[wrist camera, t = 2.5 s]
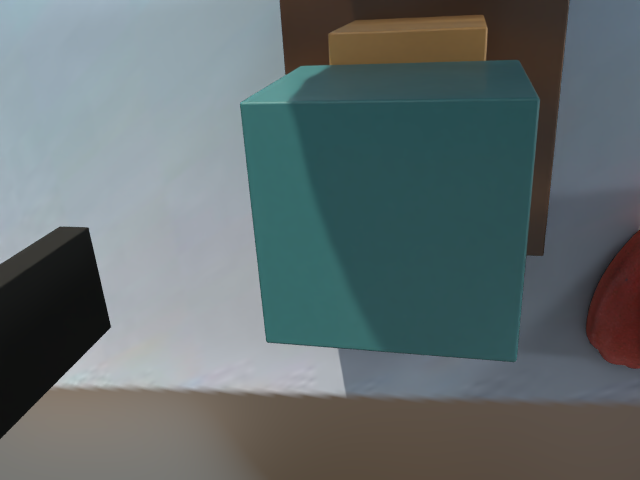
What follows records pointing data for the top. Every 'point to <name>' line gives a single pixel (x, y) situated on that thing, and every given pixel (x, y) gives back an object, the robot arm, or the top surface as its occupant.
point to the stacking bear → (618, 308)
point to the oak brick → (409, 40)
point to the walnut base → (502, 44)
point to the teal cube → (394, 205)
